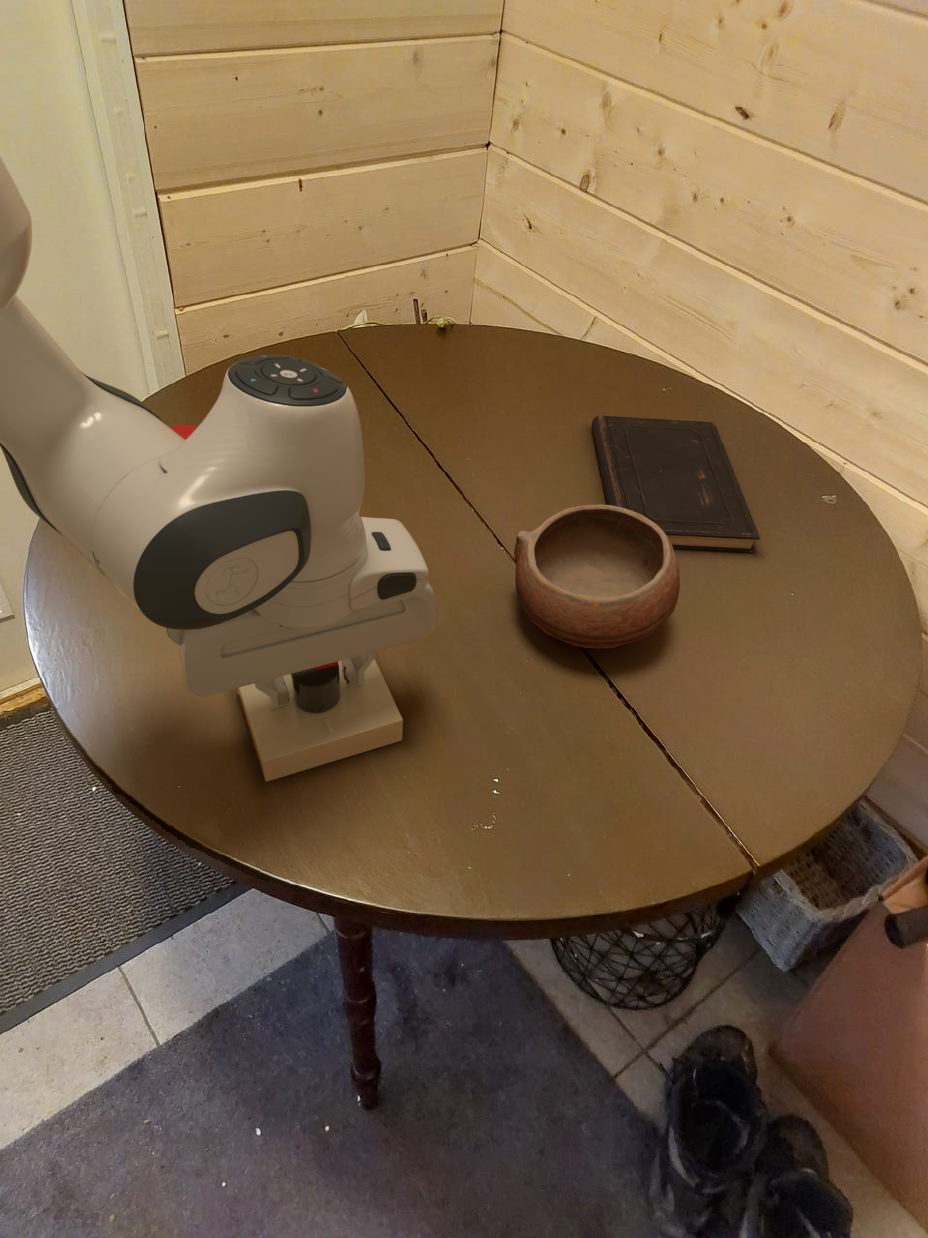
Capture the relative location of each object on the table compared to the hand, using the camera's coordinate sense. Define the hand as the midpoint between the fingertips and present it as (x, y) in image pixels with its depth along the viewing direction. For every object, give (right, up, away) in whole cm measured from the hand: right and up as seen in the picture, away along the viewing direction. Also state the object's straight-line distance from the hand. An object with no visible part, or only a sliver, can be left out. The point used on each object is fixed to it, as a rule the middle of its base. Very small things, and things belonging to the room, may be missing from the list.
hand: (316, 689), depth 70 cm
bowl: (+25, +6, +14) cm, 29 cm away
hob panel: (0, -3, +3) cm, 4 cm away
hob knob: (0, -1, +1) cm, 1 cm away
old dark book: (+37, +22, +30) cm, 53 cm away
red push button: (-19, +25, +22) cm, 38 cm away
